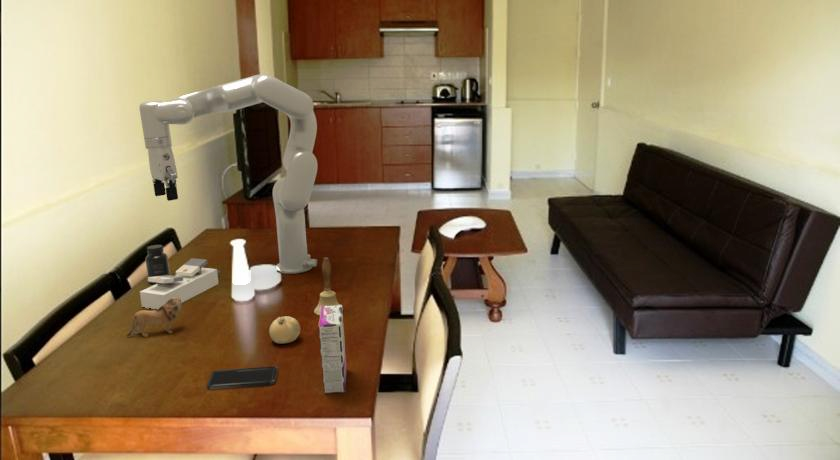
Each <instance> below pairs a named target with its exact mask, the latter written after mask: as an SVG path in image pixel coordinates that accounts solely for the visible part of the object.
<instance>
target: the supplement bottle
mask: <svg viewBox="0 0 840 460" xmlns="http://www.w3.org/2000/svg"><path fill="white" fill-rule="evenodd" d="M146 250H147V251H146V253H147V255H146V257H145V265H146V273H147V278H148V277H155V276H164V275H171V271H170V265H169V258H168V254H167V253H165V252H164V251H165V250H164V246H163V245H162V244H153V245H150V246H149V245H148V246H147V247H146ZM150 283H152V284H151V285H155V284H157V282H150ZM150 283H149V284H150Z"/></svg>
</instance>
